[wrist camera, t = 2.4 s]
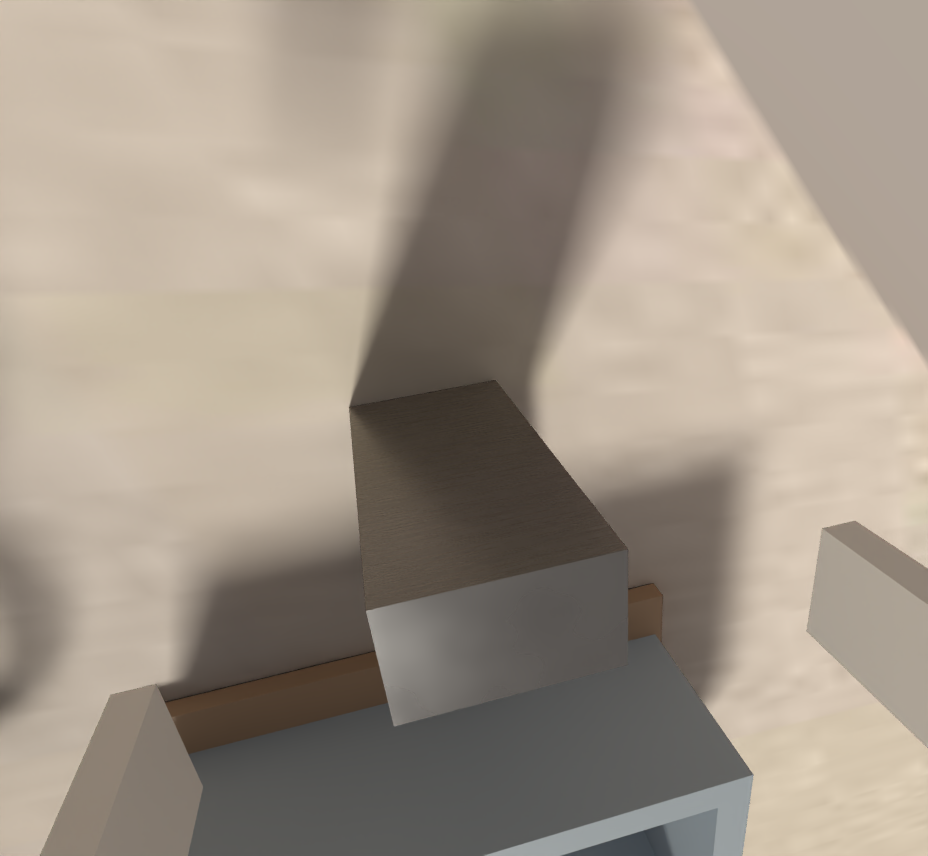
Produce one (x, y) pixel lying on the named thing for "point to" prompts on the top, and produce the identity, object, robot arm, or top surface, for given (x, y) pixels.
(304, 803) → the box
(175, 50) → the top surface
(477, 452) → the brushed grey block
